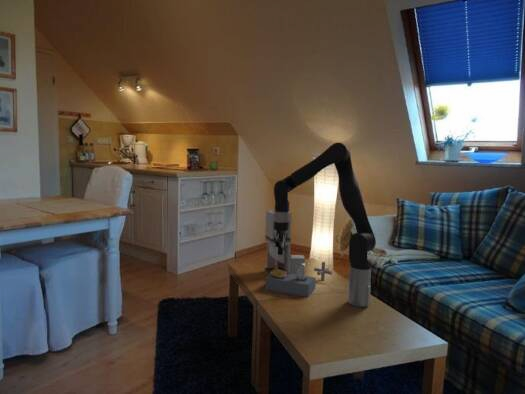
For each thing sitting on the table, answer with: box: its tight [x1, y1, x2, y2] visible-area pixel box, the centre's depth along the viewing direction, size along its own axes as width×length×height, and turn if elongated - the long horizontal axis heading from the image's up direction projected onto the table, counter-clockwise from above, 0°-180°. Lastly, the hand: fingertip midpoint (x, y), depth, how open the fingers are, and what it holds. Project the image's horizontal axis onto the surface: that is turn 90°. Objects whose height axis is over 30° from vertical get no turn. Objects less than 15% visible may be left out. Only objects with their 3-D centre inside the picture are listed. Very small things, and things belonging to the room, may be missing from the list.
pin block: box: [264, 272, 317, 298], centre depth 198 cm, size 22×12×6 cm, turn 67°
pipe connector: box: [313, 261, 333, 282], centre depth 213 cm, size 10×10×10 cm
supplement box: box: [289, 254, 306, 275], centre depth 213 cm, size 7×7×13 cm
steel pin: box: [297, 262, 306, 282], centre depth 196 cm, size 4×4×14 cm
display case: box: [264, 209, 293, 276], centre depth 221 cm, size 11×11×35 cm
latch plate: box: [270, 268, 290, 279], centre depth 200 cm, size 8×8×1 cm
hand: (280, 254), depth 199 cm, fingers closed
